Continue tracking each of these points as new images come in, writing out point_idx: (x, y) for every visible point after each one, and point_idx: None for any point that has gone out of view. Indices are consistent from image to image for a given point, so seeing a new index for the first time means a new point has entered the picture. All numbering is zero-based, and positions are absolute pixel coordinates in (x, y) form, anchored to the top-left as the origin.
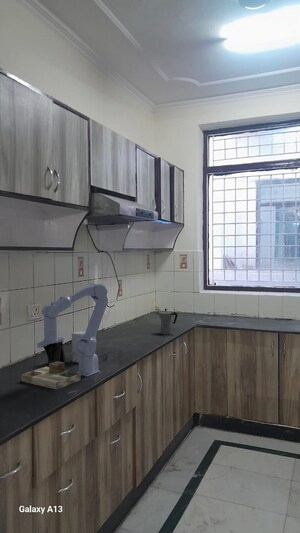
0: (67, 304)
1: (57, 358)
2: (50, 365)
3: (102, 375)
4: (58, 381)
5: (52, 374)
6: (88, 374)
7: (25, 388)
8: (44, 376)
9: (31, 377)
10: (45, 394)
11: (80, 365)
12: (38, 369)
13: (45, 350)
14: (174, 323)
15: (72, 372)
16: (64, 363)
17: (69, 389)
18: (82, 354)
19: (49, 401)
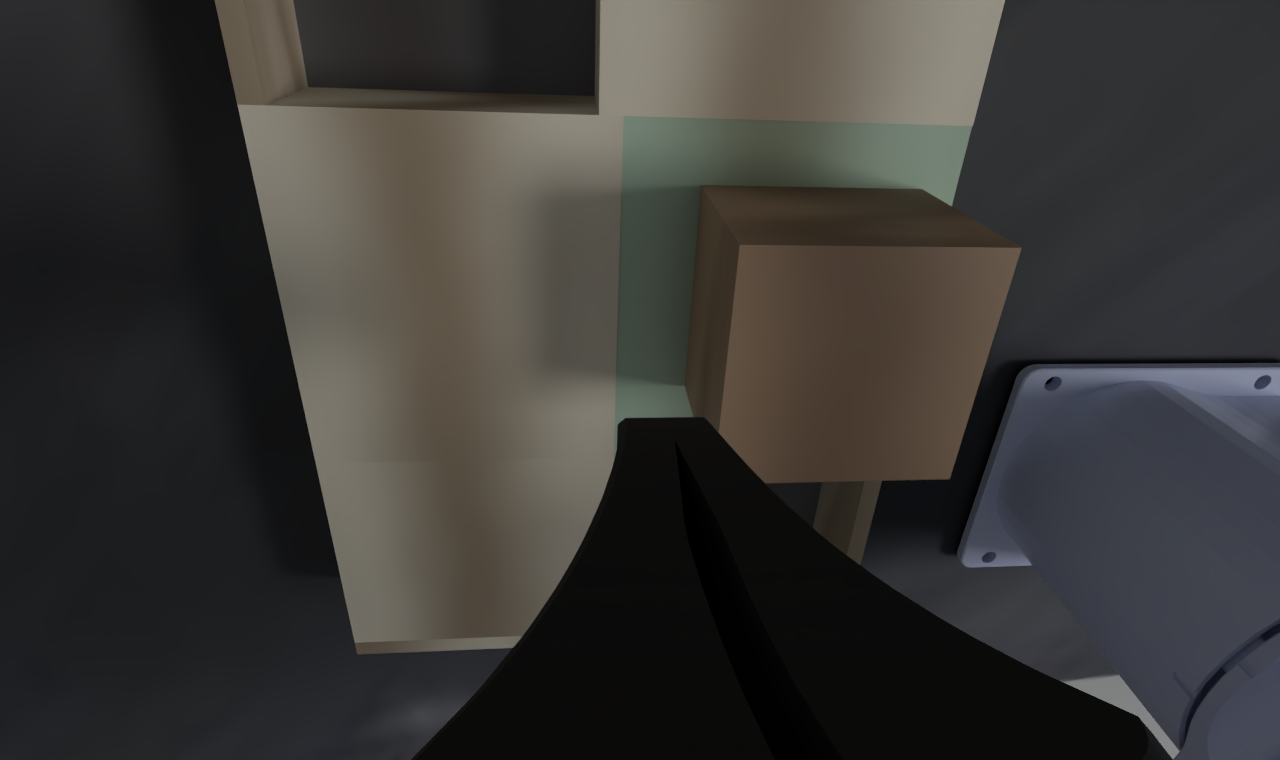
0: None
1: None
2: (727, 279)
3: (1052, 639)
4: (409, 639)
5: (615, 348)
6: (1010, 551)
7: (59, 186)
8: (441, 312)
9: (240, 91)
10: (173, 588)
11: (1088, 551)
12: None
13: (527, 649)
14: None
15: (852, 525)
16: (939, 468)
17: (479, 666)
18: (1256, 749)
19: (91, 736)
